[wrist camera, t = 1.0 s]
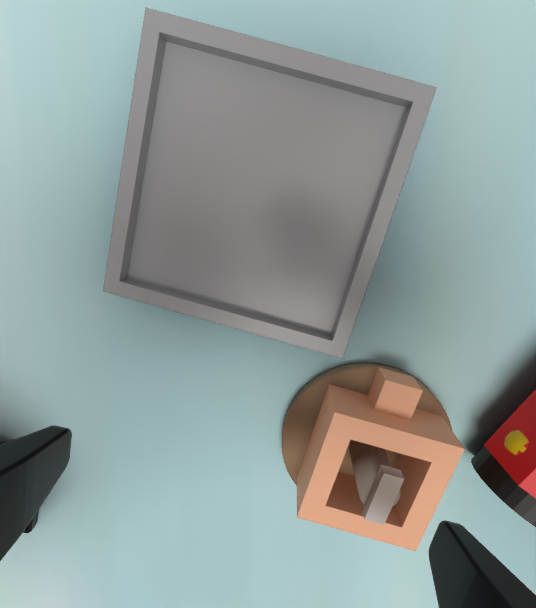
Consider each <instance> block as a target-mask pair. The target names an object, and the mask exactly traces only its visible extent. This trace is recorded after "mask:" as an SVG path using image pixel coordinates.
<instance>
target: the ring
mask: <svg viewBox="0 0 536 608" xmlns="http://www.w3.org/2000/svg"><path fill="white" fill-rule="evenodd" d="M422 392H423V390H422V388H421V387H420V386H419V384H418V383H417V382H416V380H415V379H414V377H412V376H408V375H405V374H401V373H398V372H394V371H390V370H387V369H383V368H380V367H378V370H377V372H376V375H375V378H374V380H373V383H372V386H371V388H370V391H369V394H368V395H366V394H362V393H359V392H355V391H352V390H348V389H345V388H341V387H337V386H334V385H330V384H329V386H328V389H327V392H326V395H325V398H324V400H323V403H322V406H321V409H320V412H319V415H318V418H317V421H316V424H315V426H314V429H313V432H312V435H311V438H310V441H309V444H308V447H307V450H306V452H305V455H304V458H303V461H302V464H301V467H300V470H299V473H298V476H297V517H298V518H301V519H305V520H309V521H312V522H316V523H319V524H323V525H326V526H330V527H333V528H337V529H340V530H344V531H347V532H351V533H354V534H358V535H361V536H365V537H368V538H372V539H375V540H379V541H382V542H386V543H389V544H393V545H396V546H400V547H403V548H407V549H410V550H414V551H416V549H417V547H418V545H419V543H420V541H421V539H422V537H423V535H424V533H425V531H426V529H427V526H428V524H429V522H430V520H431V518H432V516H433V514H434V512H435V510H436V508H437V506H438V504H439V502H440V499H441V497H442V495H443V493H444V491H445V489H446V487H447V485H448V483H449V481H450V479H451V477H452V475H453V472H454V470H455V468H456V466H457V464H458V462H459V460H460V458H461V456H462V454H463V452H464V450H465V449H464V447H463V446H462V444H461V443H460V442H459V440H458V439H457V437H456V436H455V435H454V433H453V432H452V431H451V429H450V428H449V426H448V425H447V424H446V422H445V421H444V420H443V418H442V417H441V415H437V414H433V413H430V412H426V411H423V410H419V409H416V406H417V404H418V401H419V399H420V397H421V394H422ZM350 440H354V441H358V442H362V443H365V444H369V445H372V446H376V447H379V448H383V449H386V450H390V451H393V452H397V453H400V454H401V456H400V458H399V461H398V463H397V465H396V468H395V469H399V470H401V472H402V474H403V477H404V481H403V483H402V486H401V488H400V498H399V500H398V502H397V503H396V504H395V505H394V506H393V507H392V508H391V511H390V513H389V515H388V517H387V520H386V522H385V524H384V525H381V524H378V523H374V522H371V521H367V520H364V516H363V512H362V509H363V506H364V504H363V503H362V501H361V499H360V496H359V492H358V488H357V483H356V479H355V476H352V475H348V474H345V473H341V472H338V471H339V468H340V466H341V463H342V461H343V458H344V455H345V453H346V450H347V447H348V445H349V442H350Z"/></svg>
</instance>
